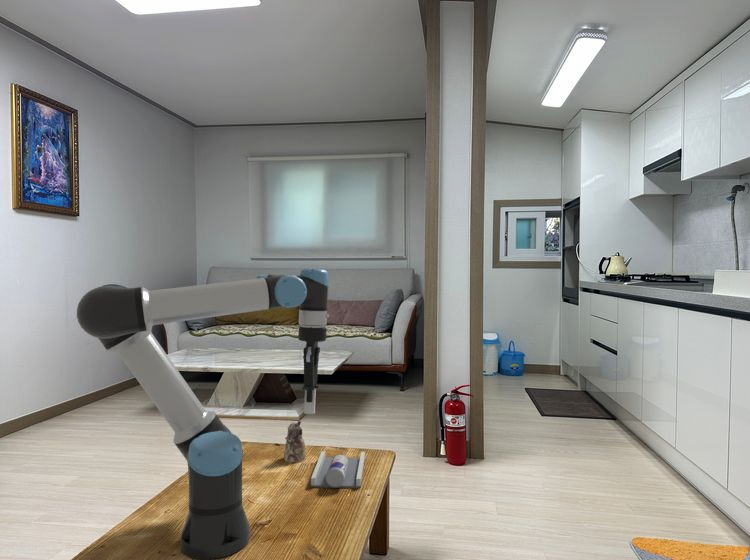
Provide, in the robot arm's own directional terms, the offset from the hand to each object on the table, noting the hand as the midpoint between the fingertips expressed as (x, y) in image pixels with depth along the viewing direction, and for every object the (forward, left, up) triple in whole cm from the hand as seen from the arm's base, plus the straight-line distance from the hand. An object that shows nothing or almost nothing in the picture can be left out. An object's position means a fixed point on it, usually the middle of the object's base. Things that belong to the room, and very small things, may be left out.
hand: (309, 413), depth 138 cm
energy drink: (+6, -6, -20) cm, 22 cm away
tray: (+18, -6, -23) cm, 30 cm away
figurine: (+29, +10, -24) cm, 39 cm away
